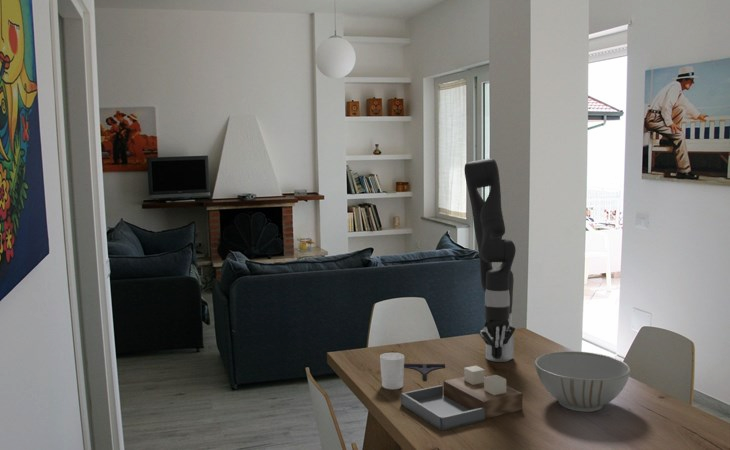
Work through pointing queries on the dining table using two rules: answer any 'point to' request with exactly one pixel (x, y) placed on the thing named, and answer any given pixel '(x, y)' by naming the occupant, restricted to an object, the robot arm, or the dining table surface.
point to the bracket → (424, 368)
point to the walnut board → (482, 397)
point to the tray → (440, 408)
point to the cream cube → (474, 375)
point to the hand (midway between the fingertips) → (496, 358)
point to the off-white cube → (495, 384)
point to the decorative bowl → (582, 378)
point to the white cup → (392, 370)
